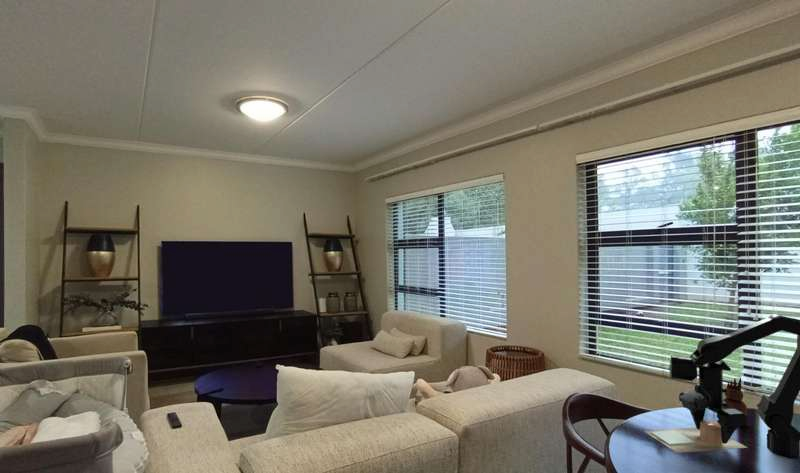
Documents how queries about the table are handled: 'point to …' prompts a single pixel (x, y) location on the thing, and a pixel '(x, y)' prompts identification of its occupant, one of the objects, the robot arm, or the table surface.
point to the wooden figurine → (735, 397)
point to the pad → (672, 438)
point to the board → (696, 441)
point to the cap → (710, 432)
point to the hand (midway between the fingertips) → (711, 436)
